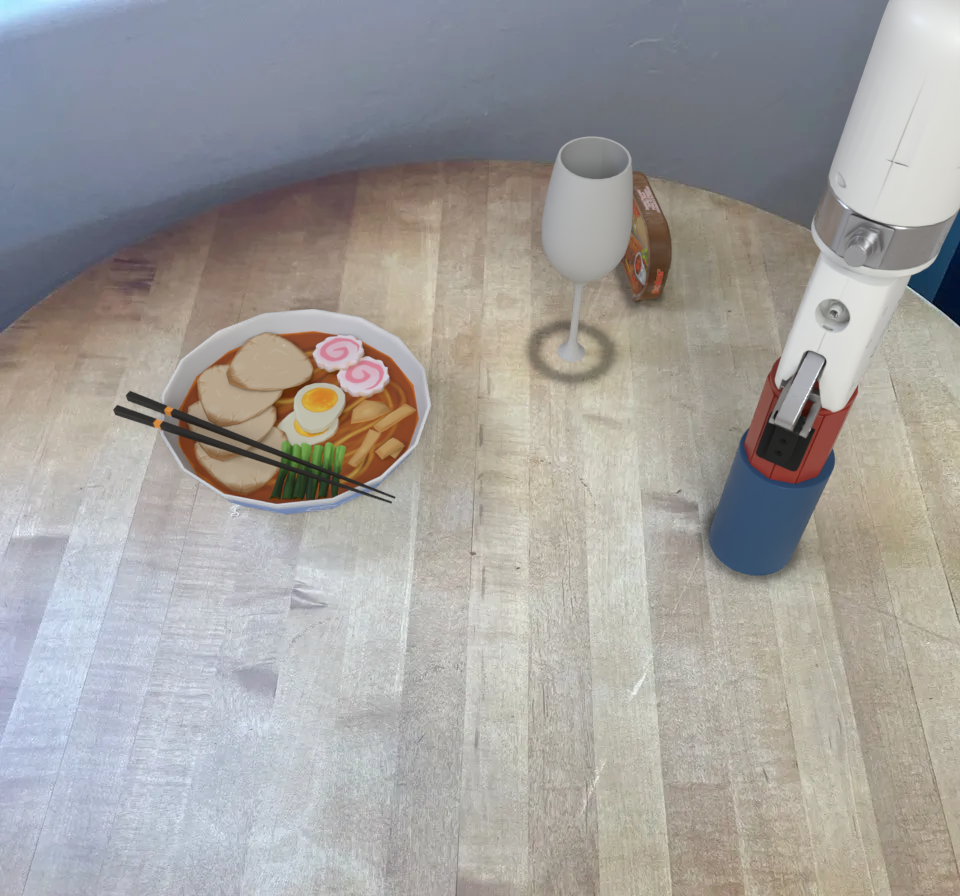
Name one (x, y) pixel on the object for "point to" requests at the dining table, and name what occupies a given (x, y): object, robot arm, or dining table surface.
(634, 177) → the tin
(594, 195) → the wineglass
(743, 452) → the water bottle
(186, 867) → the dining table surface
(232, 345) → the ramen bowl
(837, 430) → the red grooved cylinder
